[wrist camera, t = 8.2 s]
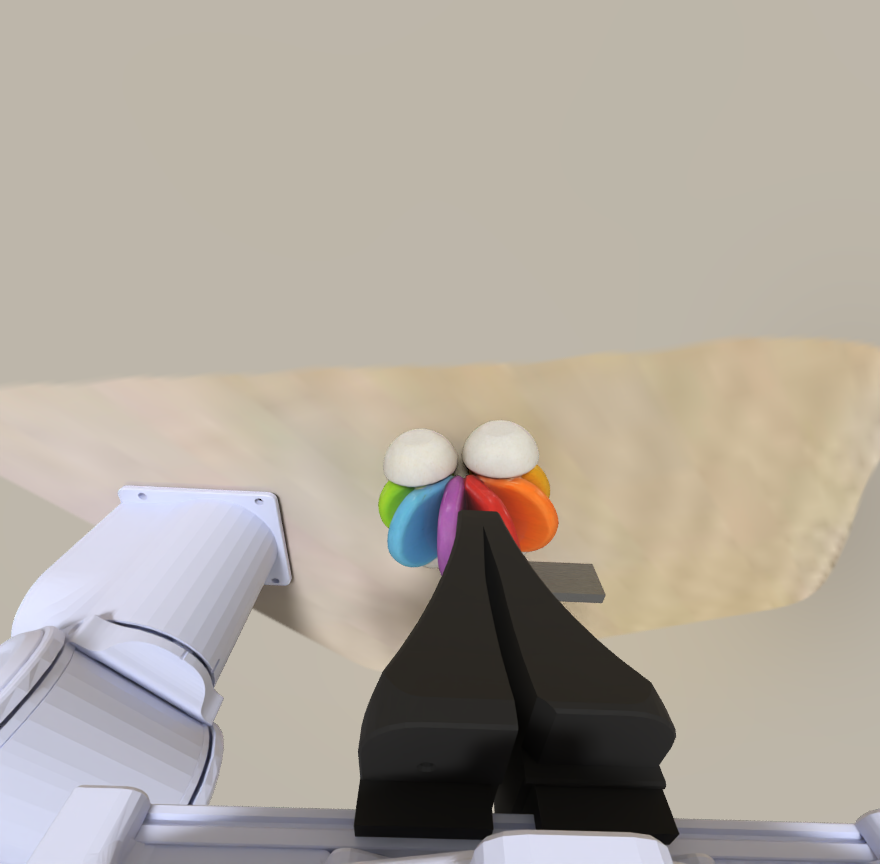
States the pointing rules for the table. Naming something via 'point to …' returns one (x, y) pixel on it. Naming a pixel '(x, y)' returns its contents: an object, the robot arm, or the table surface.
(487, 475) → the rainbow disc baby rattle
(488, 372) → the table surface
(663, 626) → the table surface
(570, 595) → the rail
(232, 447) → the table surface
